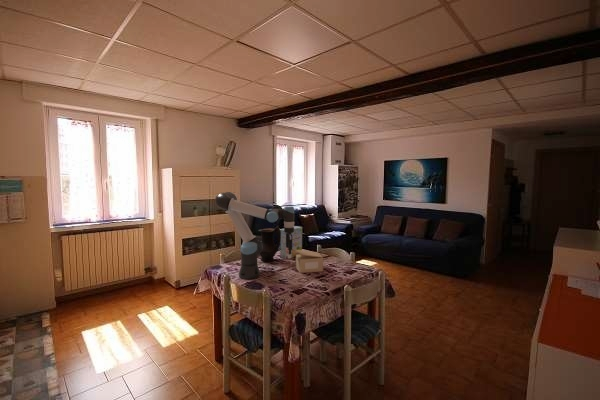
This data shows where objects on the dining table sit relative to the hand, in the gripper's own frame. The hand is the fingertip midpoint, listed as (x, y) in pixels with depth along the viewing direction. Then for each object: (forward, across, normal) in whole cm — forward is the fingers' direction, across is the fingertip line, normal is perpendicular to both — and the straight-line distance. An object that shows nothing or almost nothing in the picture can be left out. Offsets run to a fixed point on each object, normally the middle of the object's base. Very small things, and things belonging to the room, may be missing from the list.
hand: (288, 257), depth 217 cm
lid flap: (-1, 0, -11) cm, 11 cm away
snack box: (+11, +38, -10) cm, 41 cm away
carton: (+10, 0, -16) cm, 19 cm away
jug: (+11, +28, +12) cm, 32 cm away
